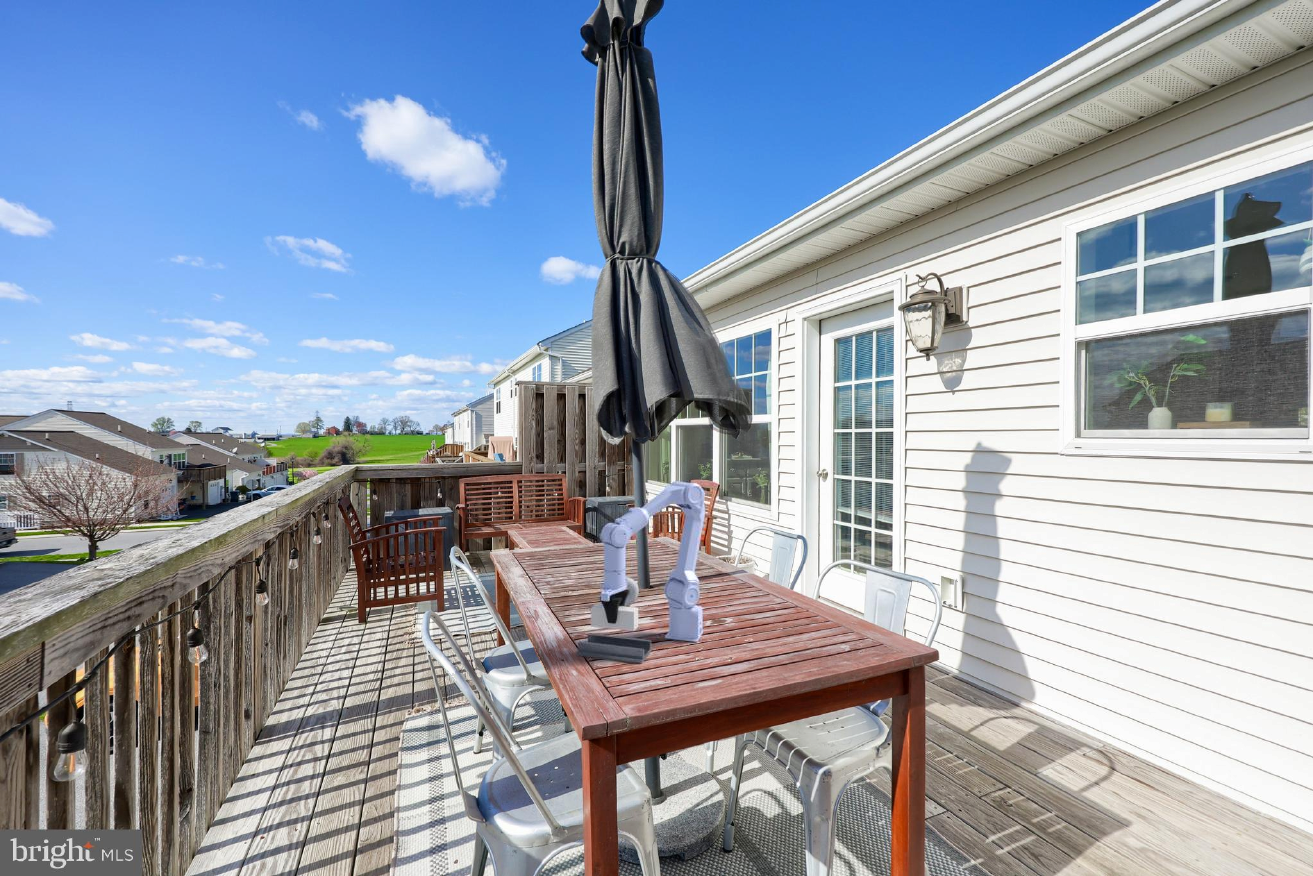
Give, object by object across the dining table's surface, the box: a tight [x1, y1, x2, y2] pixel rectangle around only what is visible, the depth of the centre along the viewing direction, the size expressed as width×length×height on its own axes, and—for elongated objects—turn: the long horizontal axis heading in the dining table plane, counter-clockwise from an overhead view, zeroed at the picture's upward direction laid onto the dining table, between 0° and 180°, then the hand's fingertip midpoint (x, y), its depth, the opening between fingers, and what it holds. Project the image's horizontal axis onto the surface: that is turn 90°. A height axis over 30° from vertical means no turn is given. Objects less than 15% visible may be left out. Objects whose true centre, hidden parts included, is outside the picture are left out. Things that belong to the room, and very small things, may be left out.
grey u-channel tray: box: [576, 632, 653, 665], centre depth 143 cm, size 18×9×3 cm, turn 73°
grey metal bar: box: [590, 603, 639, 632], centre depth 143 cm, size 12×4×5 cm, turn 73°
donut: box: [624, 576, 640, 607], centre depth 182 cm, size 10×4×10 cm, turn 98°
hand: (614, 620), depth 143 cm, fingers closed on grey metal bar, 3 cm apart
